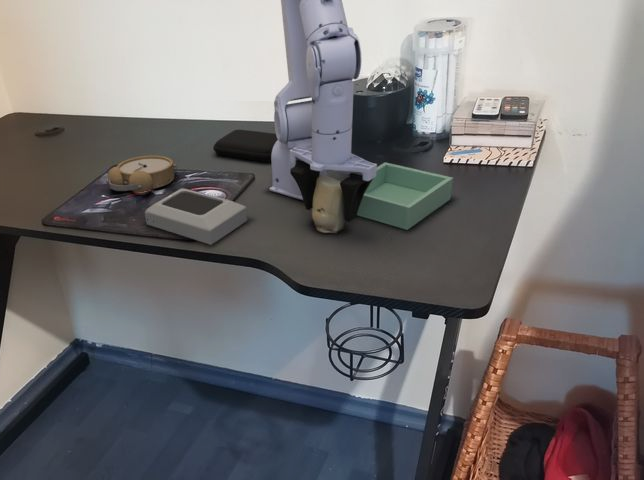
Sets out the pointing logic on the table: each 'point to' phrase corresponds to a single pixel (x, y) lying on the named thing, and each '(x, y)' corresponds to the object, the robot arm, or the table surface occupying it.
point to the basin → (404, 195)
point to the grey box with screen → (196, 215)
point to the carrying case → (247, 145)
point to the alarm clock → (141, 174)
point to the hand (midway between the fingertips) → (330, 213)
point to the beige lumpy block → (328, 205)
